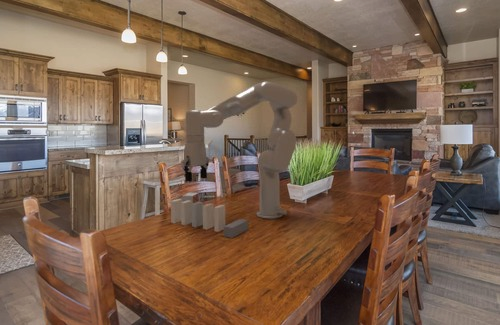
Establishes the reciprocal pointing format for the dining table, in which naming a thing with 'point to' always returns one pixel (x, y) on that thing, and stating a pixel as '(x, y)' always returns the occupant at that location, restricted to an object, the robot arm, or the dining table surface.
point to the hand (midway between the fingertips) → (196, 179)
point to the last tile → (219, 218)
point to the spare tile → (197, 214)
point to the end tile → (176, 211)
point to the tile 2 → (186, 212)
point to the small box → (191, 197)
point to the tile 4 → (208, 216)
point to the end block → (235, 228)
